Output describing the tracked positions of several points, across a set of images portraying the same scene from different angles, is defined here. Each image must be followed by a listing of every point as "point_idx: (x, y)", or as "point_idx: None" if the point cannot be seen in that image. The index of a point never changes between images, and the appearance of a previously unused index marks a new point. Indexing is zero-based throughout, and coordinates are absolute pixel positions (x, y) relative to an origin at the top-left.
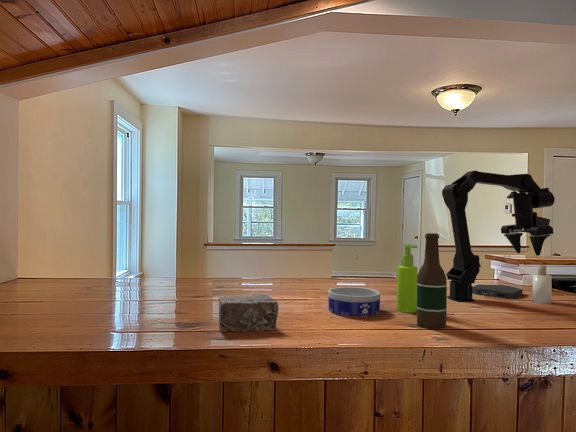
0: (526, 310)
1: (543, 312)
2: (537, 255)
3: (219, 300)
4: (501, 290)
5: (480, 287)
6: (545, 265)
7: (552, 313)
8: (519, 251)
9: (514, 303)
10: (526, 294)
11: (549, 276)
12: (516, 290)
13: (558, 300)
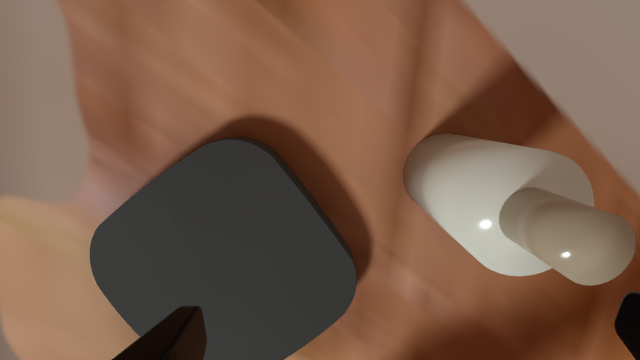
0: (565, 347)
1: (609, 308)
2: (633, 324)
3: None
4: (310, 304)
5: (215, 355)
6: (618, 226)
7: (631, 286)
8: (193, 334)
9: (447, 314)
10: (254, 112)
11: (592, 202)
12: (319, 228)
13: (423, 52)
